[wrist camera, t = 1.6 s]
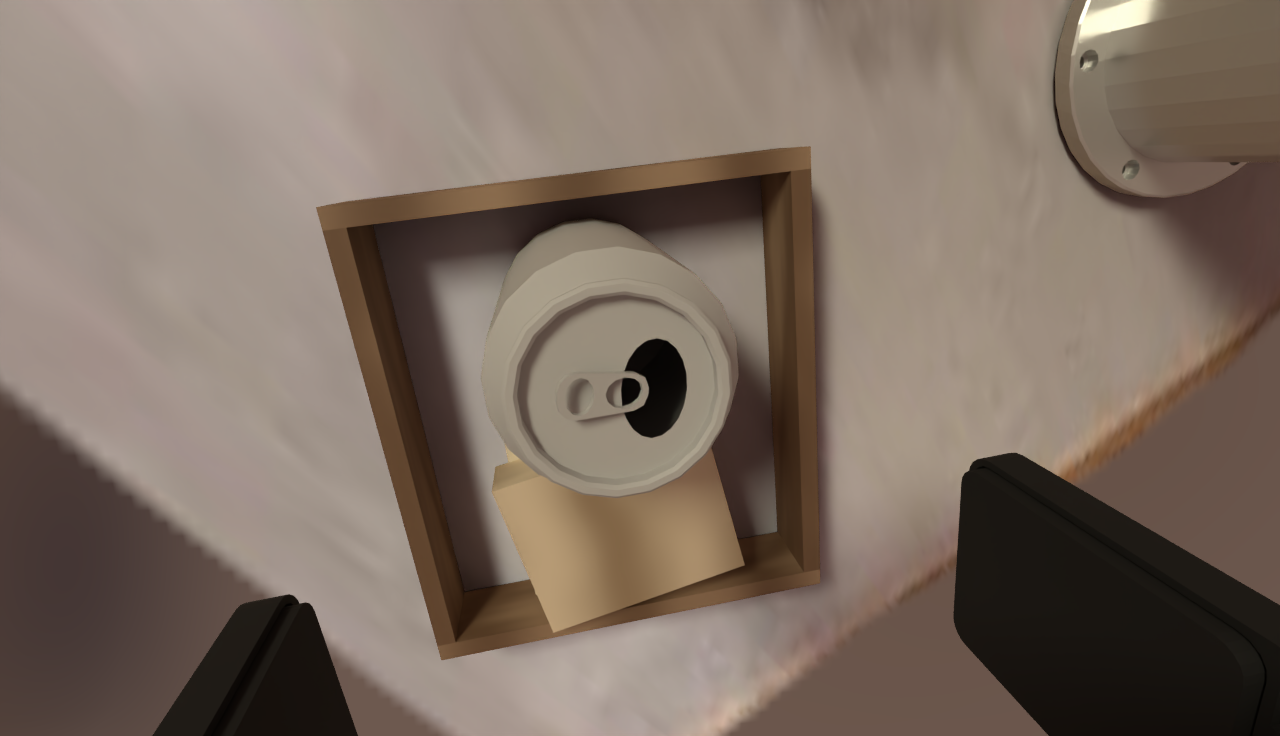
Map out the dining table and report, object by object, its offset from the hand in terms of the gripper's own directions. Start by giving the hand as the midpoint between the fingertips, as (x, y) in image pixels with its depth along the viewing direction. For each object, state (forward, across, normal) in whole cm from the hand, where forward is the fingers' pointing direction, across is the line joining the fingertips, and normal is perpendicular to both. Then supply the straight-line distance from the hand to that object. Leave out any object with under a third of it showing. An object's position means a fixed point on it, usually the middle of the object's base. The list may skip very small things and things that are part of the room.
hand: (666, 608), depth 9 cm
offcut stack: (+20, -1, +9) cm, 22 cm away
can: (+20, -1, 0) cm, 20 cm away
